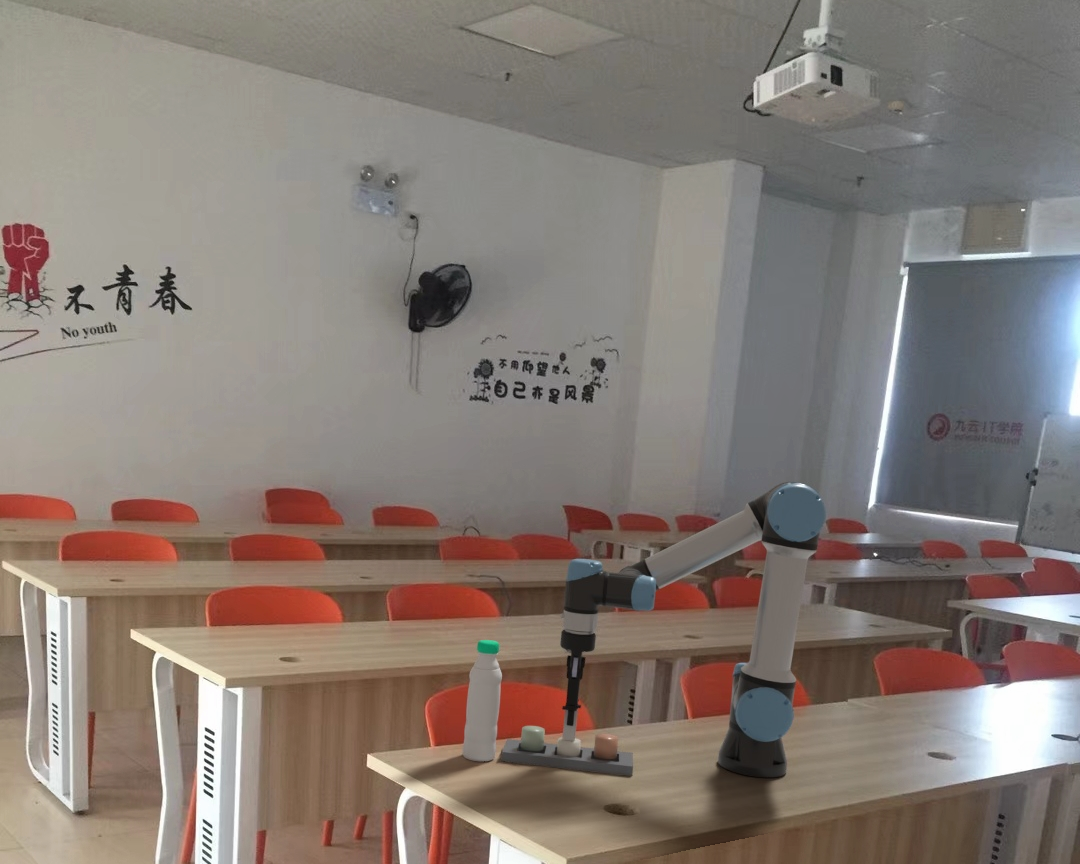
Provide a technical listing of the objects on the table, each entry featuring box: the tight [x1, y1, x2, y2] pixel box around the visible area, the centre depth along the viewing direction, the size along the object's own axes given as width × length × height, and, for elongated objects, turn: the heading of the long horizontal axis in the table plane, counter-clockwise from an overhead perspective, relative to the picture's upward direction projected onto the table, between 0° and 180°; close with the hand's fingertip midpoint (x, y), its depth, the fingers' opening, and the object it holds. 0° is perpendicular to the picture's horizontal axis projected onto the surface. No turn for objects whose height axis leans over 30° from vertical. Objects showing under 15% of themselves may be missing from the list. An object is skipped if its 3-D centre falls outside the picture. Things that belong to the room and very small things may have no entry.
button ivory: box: [557, 736, 582, 758], centre depth 230 cm, size 5×5×4 cm
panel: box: [500, 738, 634, 777], centre depth 230 cm, size 28×10×2 cm, turn 85°
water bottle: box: [462, 639, 503, 763], centre depth 228 cm, size 7×7×25 cm
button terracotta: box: [593, 733, 619, 759], centre depth 229 cm, size 5×5×4 cm
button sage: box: [520, 725, 546, 751], centre depth 231 cm, size 5×5×4 cm
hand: (568, 738), depth 230 cm, fingers closed
